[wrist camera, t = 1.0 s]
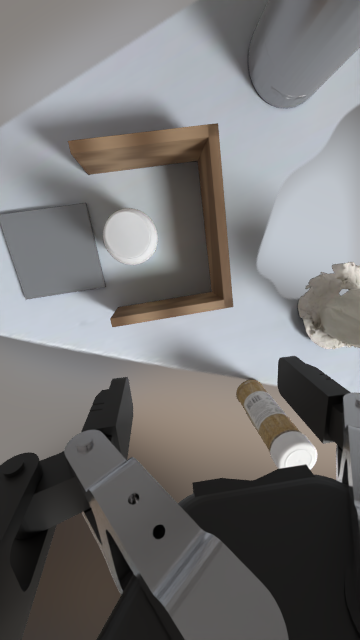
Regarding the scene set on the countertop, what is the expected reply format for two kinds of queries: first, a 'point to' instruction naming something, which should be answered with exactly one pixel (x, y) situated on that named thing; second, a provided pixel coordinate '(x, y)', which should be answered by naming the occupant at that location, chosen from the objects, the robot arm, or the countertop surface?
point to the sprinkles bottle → (275, 427)
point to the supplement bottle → (130, 236)
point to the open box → (205, 150)
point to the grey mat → (53, 250)
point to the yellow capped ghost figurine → (333, 307)
